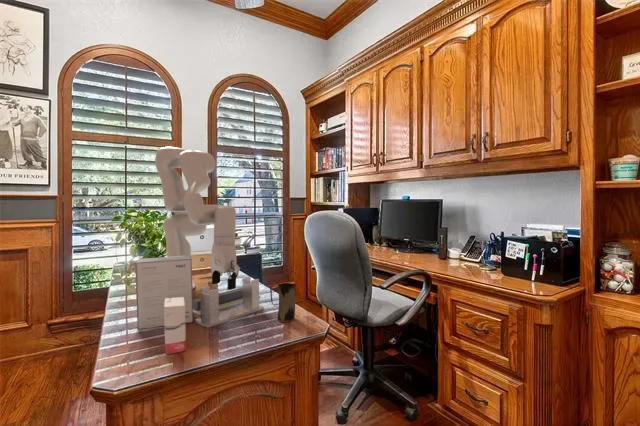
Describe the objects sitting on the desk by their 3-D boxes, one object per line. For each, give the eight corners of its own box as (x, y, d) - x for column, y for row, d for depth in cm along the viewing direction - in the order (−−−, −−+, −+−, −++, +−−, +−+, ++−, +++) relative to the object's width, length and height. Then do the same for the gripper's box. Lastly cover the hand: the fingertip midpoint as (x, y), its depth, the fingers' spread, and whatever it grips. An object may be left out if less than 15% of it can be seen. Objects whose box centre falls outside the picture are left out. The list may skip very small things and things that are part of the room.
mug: (291, 315, 108) (291, 279, 107) (297, 320, 103) (297, 283, 102) (268, 318, 105) (268, 281, 104) (273, 324, 99) (273, 285, 99)
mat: (186, 310, 112) (186, 308, 112) (247, 293, 132) (247, 292, 132) (198, 315, 107) (198, 313, 107) (260, 297, 127) (260, 295, 127)
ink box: (186, 351, 82) (185, 305, 81) (164, 355, 80) (163, 307, 79) (184, 338, 90) (184, 295, 89) (165, 341, 88) (164, 297, 87)
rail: (192, 309, 112) (192, 299, 111) (249, 293, 130) (248, 285, 130) (197, 311, 110) (197, 301, 110) (253, 295, 128) (253, 287, 128)
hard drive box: (193, 314, 108) (192, 254, 107) (193, 322, 101) (192, 258, 100) (140, 320, 102) (138, 257, 102) (136, 330, 95) (134, 262, 94)
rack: (194, 322, 101) (194, 288, 101) (251, 304, 118) (251, 275, 118) (207, 327, 97) (206, 292, 96) (264, 308, 114) (264, 278, 113)
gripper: (202, 238, 122) (201, 283, 123) (230, 244, 111) (229, 293, 112) (219, 236, 127) (219, 279, 129) (247, 242, 117) (246, 289, 118)
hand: (223, 286), depth 120 cm, fingers open, 9 cm apart
